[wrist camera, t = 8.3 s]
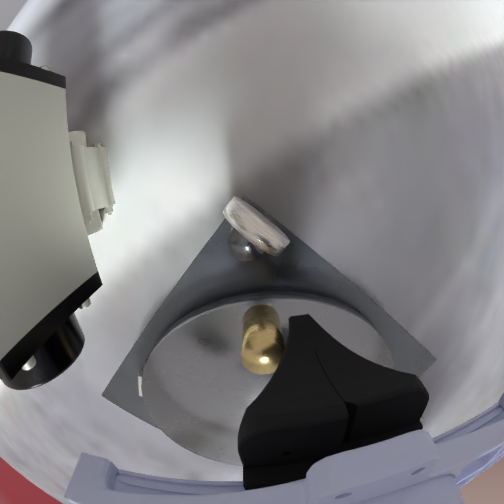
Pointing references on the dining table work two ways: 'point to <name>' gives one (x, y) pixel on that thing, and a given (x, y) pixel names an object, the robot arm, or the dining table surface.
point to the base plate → (248, 281)
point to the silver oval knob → (252, 232)
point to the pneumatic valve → (43, 220)
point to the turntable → (235, 363)
